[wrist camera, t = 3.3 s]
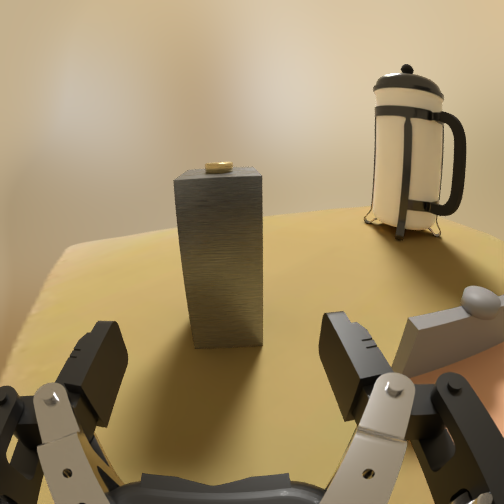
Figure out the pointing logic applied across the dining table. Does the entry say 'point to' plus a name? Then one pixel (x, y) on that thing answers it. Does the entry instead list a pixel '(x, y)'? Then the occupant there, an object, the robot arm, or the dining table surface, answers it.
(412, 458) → the dining table surface
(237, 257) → the block
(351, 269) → the dining table surface
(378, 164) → the coffee press
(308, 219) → the dining table surface
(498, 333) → the dock
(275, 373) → the dining table surface
